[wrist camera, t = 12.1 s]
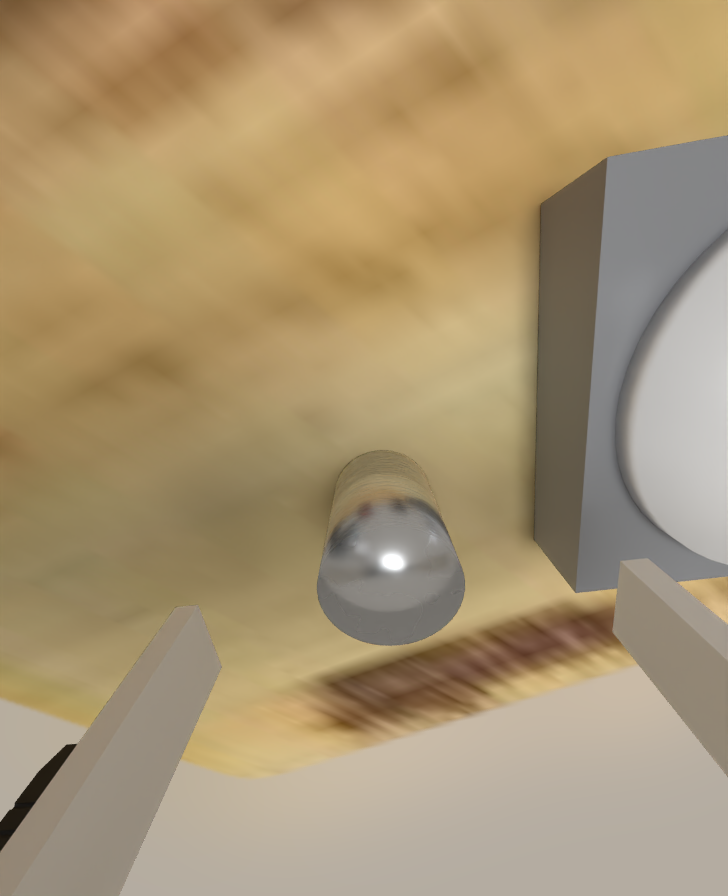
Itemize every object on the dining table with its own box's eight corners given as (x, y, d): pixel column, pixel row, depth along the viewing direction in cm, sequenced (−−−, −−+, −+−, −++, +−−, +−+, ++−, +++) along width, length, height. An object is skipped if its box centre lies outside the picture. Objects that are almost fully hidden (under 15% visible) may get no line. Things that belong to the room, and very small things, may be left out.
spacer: (343, 539, 19) (331, 652, 12) (327, 457, 17) (303, 537, 11) (433, 528, 19) (468, 637, 12) (424, 444, 17) (461, 517, 11)
